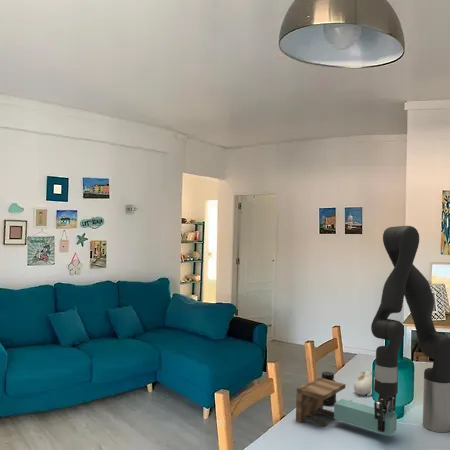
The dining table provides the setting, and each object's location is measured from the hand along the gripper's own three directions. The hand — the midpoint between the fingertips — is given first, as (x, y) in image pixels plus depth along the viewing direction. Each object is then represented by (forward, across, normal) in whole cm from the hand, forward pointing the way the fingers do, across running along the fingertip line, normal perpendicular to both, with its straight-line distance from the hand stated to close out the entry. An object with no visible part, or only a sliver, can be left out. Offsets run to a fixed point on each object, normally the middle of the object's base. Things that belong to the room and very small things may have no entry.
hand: (384, 427), depth 160 cm
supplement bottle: (+4, -16, -29) cm, 34 cm away
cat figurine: (+4, -39, -23) cm, 45 cm away
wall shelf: (+4, 0, -24) cm, 24 cm away
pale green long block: (+1, 0, -7) cm, 7 cm away
